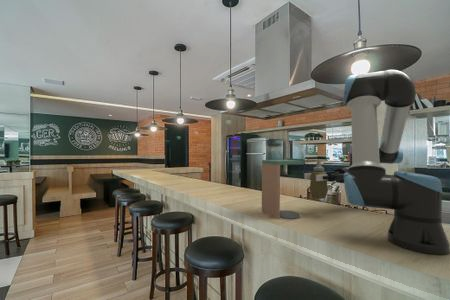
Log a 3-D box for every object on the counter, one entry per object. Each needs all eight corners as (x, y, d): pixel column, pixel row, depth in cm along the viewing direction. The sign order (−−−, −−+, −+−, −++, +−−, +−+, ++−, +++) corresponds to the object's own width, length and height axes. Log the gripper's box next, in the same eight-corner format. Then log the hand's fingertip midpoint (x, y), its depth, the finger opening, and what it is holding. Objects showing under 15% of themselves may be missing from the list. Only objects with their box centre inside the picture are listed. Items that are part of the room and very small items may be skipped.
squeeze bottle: (330, 200, 98) (330, 160, 98) (311, 199, 99) (311, 159, 100) (325, 196, 106) (325, 159, 106) (308, 195, 107) (308, 159, 107)
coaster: (306, 217, 99) (306, 216, 99) (285, 220, 94) (285, 219, 94) (288, 210, 110) (288, 209, 110) (268, 213, 105) (268, 212, 105)
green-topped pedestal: (304, 215, 102) (304, 159, 103) (276, 219, 96) (277, 159, 96) (287, 208, 113) (287, 158, 114) (261, 212, 107) (262, 158, 107)
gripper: (363, 185, 101) (328, 188, 92) (328, 180, 119) (295, 182, 109) (363, 169, 101) (328, 170, 92) (328, 166, 119) (295, 167, 109)
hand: (310, 177), depth 101 cm, fingers closed on squeeze bottle, 6 cm apart
